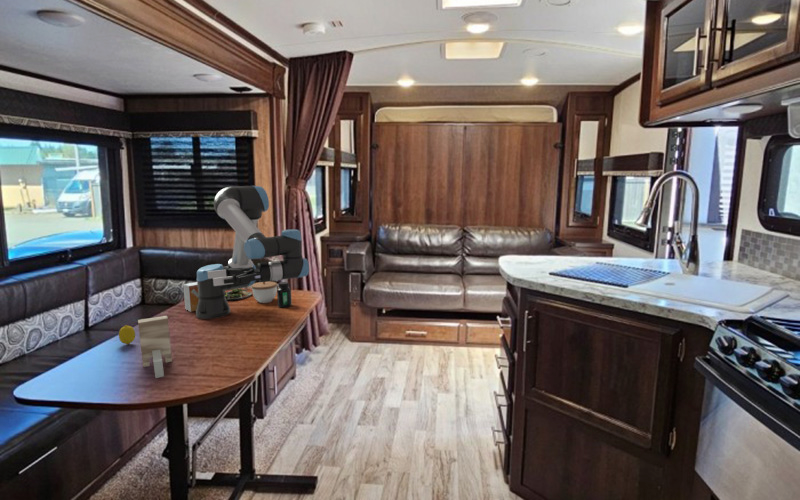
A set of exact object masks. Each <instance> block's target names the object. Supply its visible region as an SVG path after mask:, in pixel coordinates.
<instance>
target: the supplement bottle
mask: <svg viewBox="0 0 800 500" xmlns="http://www.w3.org/2000/svg"><path fill="white" fill-rule="evenodd" d="M289 284H290V283H289V282H288V281H281V282H278V288H277V292H276V297H277V307H278V308H281V309H287V308H290V307H292V304H293V301H292V289H291V288H290V285H289Z"/></svg>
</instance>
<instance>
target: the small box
mask: <svg viewBox="0 0 800 500" xmlns="http://www.w3.org/2000/svg"><path fill="white" fill-rule="evenodd" d="M182 285H183V286H182V287H183V298H184V299H183V301H184V308H185V309H186V310H185V309H184V310H185V311H187V310H188V312H191V313H192V312H196V309H197V305H198V301H199V296H198V285H197V281H195V282H189V283H183V284H182Z"/></svg>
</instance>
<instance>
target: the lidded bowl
mask: <svg viewBox="0 0 800 500" xmlns="http://www.w3.org/2000/svg"><path fill="white" fill-rule="evenodd" d="M277 285H278V283H277V282H276V281H268V282H259V281H258V282H255V283H254V284H253V285H251V290H252V291H251V293H252V295H253V297H254V299H255V300H256V301H257V303H259V304H268V303H271V302H273V300H274V299H275V297H277V289H278V288H277Z"/></svg>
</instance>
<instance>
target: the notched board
mask: <svg viewBox="0 0 800 500" xmlns="http://www.w3.org/2000/svg"><path fill="white" fill-rule="evenodd" d="M152 354H153V357H152V362H153V370H154V377H155V379H158V378H163V377H165V372H164V364H163V363H164V362H163V357H162V356H163V355H161V350H154V351H152Z"/></svg>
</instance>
